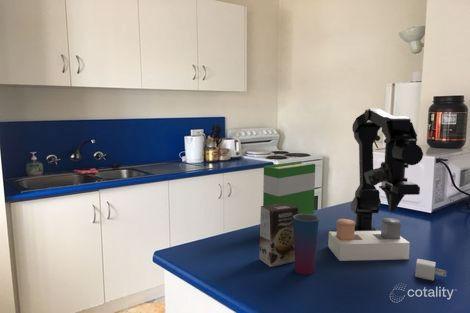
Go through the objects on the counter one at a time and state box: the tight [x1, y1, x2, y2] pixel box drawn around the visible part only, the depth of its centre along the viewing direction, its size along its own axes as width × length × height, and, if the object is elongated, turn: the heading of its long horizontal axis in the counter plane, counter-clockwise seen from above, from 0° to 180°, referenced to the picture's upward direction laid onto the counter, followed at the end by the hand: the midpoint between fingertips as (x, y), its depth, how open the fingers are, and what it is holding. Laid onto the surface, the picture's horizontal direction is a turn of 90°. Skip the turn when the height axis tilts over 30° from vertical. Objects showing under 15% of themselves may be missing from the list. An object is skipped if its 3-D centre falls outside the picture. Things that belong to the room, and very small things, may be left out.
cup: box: [293, 214, 320, 276], centre depth 100 cm, size 7×7×15 cm
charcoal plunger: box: [380, 217, 402, 239], centre depth 113 cm, size 5×5×6 cm
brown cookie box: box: [259, 203, 298, 268], centre depth 106 cm, size 9×6×16 cm
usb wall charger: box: [414, 258, 447, 282], centre depth 97 cm, size 4×7×4 cm, turn 60°
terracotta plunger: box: [335, 218, 356, 240], centre depth 112 cm, size 5×5×6 cm
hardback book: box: [262, 160, 316, 215], centre depth 130 cm, size 18×7×24 cm, turn 127°
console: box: [327, 230, 411, 262], centre depth 113 cm, size 11×21×5 cm, turn 93°
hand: (391, 211), depth 112 cm, fingers closed
